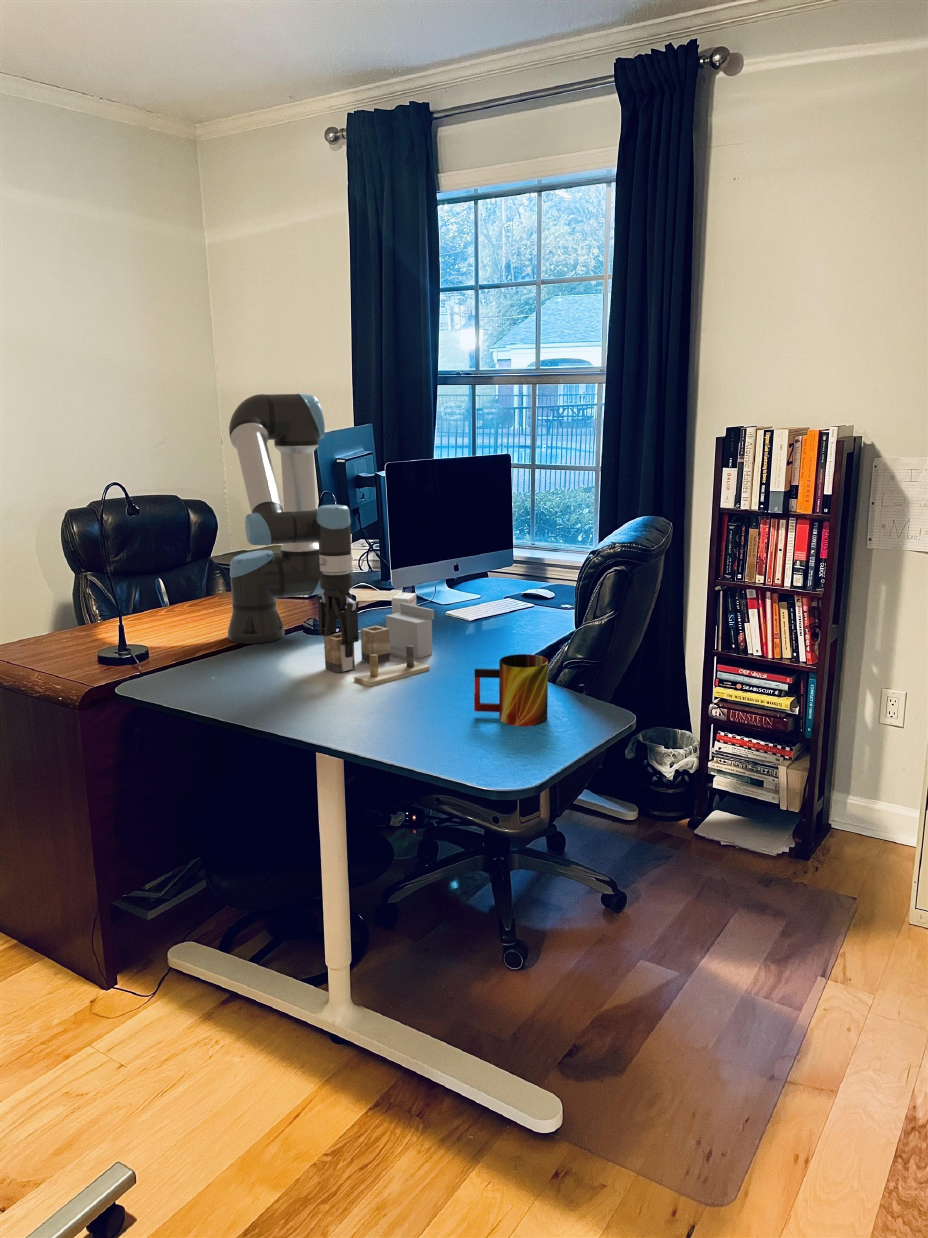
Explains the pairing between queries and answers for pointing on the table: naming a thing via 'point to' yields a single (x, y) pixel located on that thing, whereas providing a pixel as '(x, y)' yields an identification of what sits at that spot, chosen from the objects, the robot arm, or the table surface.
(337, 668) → the sleeve
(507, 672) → the mug
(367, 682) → the pin board
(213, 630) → the table surface
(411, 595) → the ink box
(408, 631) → the chute
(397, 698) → the table surface
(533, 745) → the table surface
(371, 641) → the sleeve
